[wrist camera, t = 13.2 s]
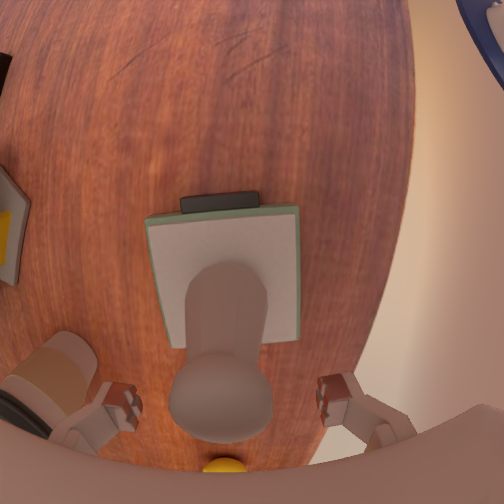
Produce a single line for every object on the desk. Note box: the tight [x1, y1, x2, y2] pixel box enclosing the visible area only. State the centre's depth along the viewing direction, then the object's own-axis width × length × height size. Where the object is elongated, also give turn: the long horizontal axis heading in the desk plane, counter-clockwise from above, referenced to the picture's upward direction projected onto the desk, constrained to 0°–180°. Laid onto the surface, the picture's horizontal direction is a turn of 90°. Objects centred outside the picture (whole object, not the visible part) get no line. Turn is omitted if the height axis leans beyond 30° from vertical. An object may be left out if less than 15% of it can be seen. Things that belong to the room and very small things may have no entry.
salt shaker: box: [169, 262, 273, 444], centre depth 15 cm, size 6×6×13 cm
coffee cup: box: [0, 331, 97, 440], centre depth 19 cm, size 9×9×15 cm
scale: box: [144, 190, 301, 348], centre depth 22 cm, size 12×13×3 cm
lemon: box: [203, 457, 247, 472], centre depth 30 cm, size 7×5×5 cm
